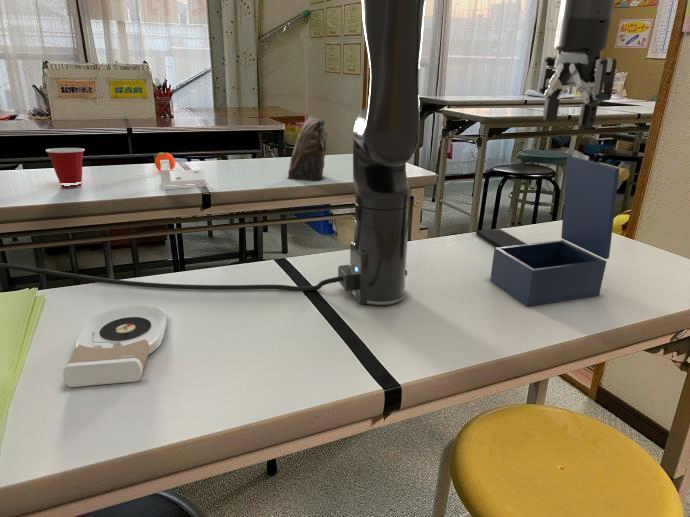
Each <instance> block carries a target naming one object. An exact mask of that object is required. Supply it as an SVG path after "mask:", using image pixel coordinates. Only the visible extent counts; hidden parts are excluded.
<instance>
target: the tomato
mask: <svg viewBox="0 0 690 517" xmlns="http://www.w3.org/2000/svg"><path fill="white" fill-rule="evenodd" d="M153 159H154V165H155V167H156V169H157V170H158V171H160V169H161V164H160V160H169V166H170V171H172V170H171V169H173V170H174V169H175V166H176V160H175V158H174V156H173V155H172V154H170V152H158V153H156V154H154V157H153Z"/></svg>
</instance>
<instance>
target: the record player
mask: <svg viewBox="0 0 690 517" xmlns="http://www.w3.org/2000/svg"><path fill="white" fill-rule="evenodd" d="M166 328H167V317H166V313H165V312H164V311H163V310H161V309H160V308H157V307H155V306H150V305H126V306H120V307H116V308H111V309H109V310H106V311H103V312H101V313H99V314H97V315H95V316H94V317H92V318H91V319H90V320H88V322H87V323H86V324H85V326H84V327H83V329H82V331H81V332H80V333H79V336H78V337H77V339H76V341H75V349H74V352H73V353H72V355H71V357H70V358H69V360H68V362H67V364H66V365H65V367H64V368H63V370H62V371H63V372H62V375H63V380H64V382H65V384H66V386H68V387H70V388H77V387H79V388H80V387H88V386H99V385H110V384H121V383H122V384H123V383H132V382H133V383H134V382H139V381H140V380H141V378H142V375H143V372H144V370H145V367H146V363H147V360H148V358H149V355H150V354H152V353H154V352H155V351H157V349H158V348H159V347H160V346H161V344H162V342H163V339H164V336H165V333H166Z"/></svg>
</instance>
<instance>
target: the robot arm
mask: <svg viewBox="0 0 690 517" xmlns="http://www.w3.org/2000/svg"><path fill="white" fill-rule="evenodd" d="M615 2H616V1H615V0H561V2H560V7H559V15H558V22H557V26H556V34H555V40H554V49H555V50H557V51H558V54H557V56H545V57H544V58H543V59H542V66H541V71H540V75H539V76H540V77H539V82H538V87H537V93H538V94H541V95H542V96H543V98H544V99H545V102H544V108H543V113H542V116H543V118H542V119H543V122H549V123H550V122H551V123H552V122H556V121H557V119H558V113H559V106H560V100H561V99H560V97H561V96H562V94H563V93H564V91H565V90H567V89H569V88H570V87H574V88H575V89H576V90H577V91H578V93H580V95H581V99H582V101H583V103H581V108H580V114H579V119H578V123H577V124H578V125H577V126H578V128H579V129H584V130H585V129H586V130H587V129H591V128H593V126H594V124H595V122H596V117H597V116H596V115H597V112H598V106H599V104H600V103H601V102H605V101H610V100H611V99H612V95H613V90H614V89H613V88H614V87H613V86H614V82H615V77H616V68H617V64H618V63H617V61H618V60H617V59H616V58H613V57H612V58H611V57H601V53H602V51H604V50H605V49H606V48H607V44H608V39H609V34H610V29H611V24H612V19H613V18H612V17H613V12H614V7H615ZM425 6H426V0H361V17H362V25H363V26H362V27H363V32H364V39H365V43H366V50H367V55H368V62H369V68H370V70H369V71H370V72H369V73H370V74H369V75H370V80H369V81H370V82H369V95H368V104H367V105H368V106H366V107H365V108H364V109H363V110H361V112H360V113H359V115H358V116H357V118H356V120H355V121H354V122H355V123H354V125H353V126H354V127H353V132H352V181H353V187H354V238H353V240H354V241H351V242H350V244H349V245H350V247H349V250H350V252H349V264H343V265H338V266H337V268H338V269H337V275H338V276H334V277H330V278H326V279H322V280H321V281H319V282H318V283H317V284H315V285H310V286H297V285H287V284H187V283H185V284H184V283H183V284H182V283H162V282H147V281H146V282H145V281H136V280H135V281H133V280H124V279H115V278H106V277H99V276H91V275H84V274H78V273H77V274H76V273H70V272H65V271H64V272H63V271H57V270H50V269H44V268H37V267H33V266H32V267H30V266H25V265H18V264H11V263H3V262H0V268H2V269H9V270H15V271H16V270H17V271H23V272H29V273H34V274H35V273H36V274H41V275H48V276H55V277H60V278H66V279H73V280H80V281H87V282H94V283H101V284H111V285H119V286H129V287H140V288H152V289H167V290H170V289H171V290H193V291H194V290H195V291H252V290H253V291H256V290H257V291H258V290H280V291H293V292H315V291H319V290H320V289H321V288H322V287H324V286H326V285H329V284H333V283H339V284H340V286H341V287H342V288H343V289H344V291H345V292H350V293H351V294H352V295H353V297H354V299H355V300H356V301H357V302H358V304H360V305H371V306H390V305H394V304H397V303H400V302H402V301H403V300H404V298H405V296H406V295H405V294H406V293H405V292H406V291H405V288H406V284H405V283H406V277H407V276H408V270H407V255H408V253H407V252H408V237H409V236H408V235H409V222H410V220H409V219H410V205H411V188H410V184H409V181H408V176H407V170H406V169H407V163H408V162H409V161H410V160H411V158H412V157H413V156H414V155H415V153H416V151H417V149H418V146H419V143H420V138H421V120H420V119H421V118H420V117H421V116H420V92H419V90H420V89H419V87H420V86H419V84H420V83H419V76H420V60H421V53H422V42H423V33H424V32H423V31H424V16H425V8H426V7H425ZM547 80H548V84H547Z"/></svg>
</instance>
